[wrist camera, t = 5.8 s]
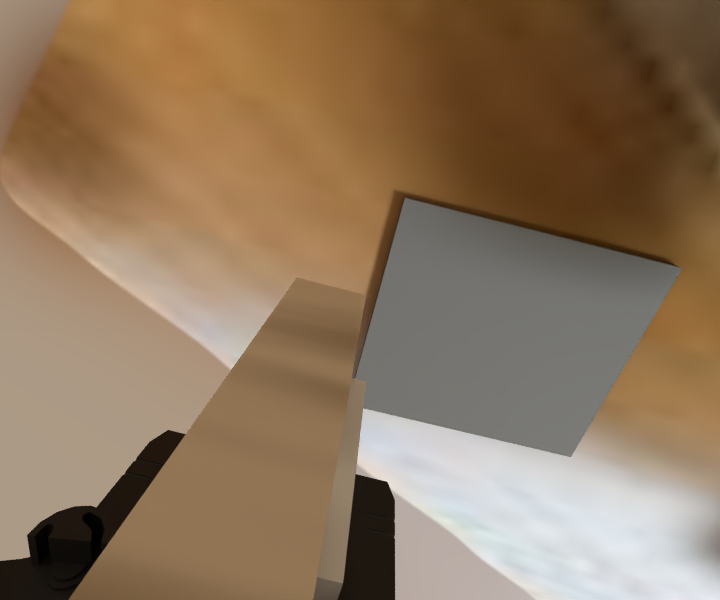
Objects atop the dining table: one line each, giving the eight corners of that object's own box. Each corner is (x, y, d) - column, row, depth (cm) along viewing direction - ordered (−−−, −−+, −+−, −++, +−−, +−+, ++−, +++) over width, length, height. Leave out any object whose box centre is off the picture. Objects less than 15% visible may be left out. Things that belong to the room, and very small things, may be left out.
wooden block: (292, 276, 13) (46, 606, 4) (366, 295, 13) (301, 666, 4) (259, 453, 16) (79, 873, 7) (319, 467, 16) (221, 904, 7)
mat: (404, 196, 24) (405, 198, 24) (675, 265, 25) (682, 268, 24) (348, 399, 30) (348, 404, 30) (567, 451, 31) (570, 456, 30)
